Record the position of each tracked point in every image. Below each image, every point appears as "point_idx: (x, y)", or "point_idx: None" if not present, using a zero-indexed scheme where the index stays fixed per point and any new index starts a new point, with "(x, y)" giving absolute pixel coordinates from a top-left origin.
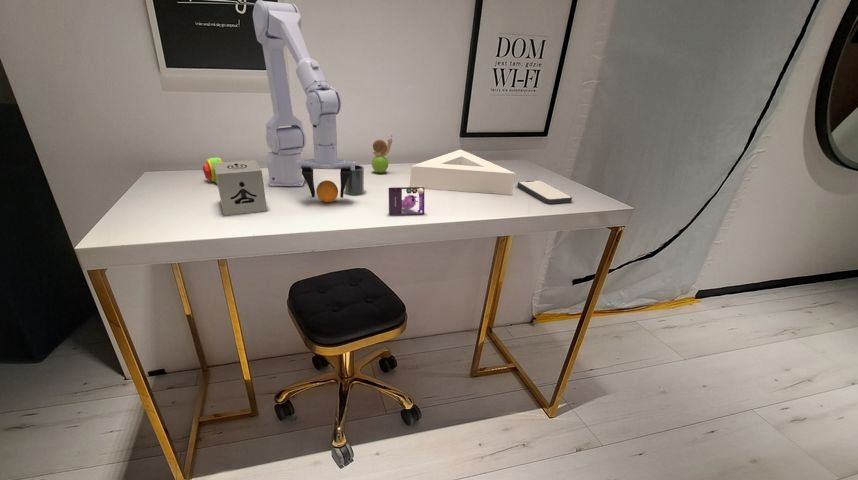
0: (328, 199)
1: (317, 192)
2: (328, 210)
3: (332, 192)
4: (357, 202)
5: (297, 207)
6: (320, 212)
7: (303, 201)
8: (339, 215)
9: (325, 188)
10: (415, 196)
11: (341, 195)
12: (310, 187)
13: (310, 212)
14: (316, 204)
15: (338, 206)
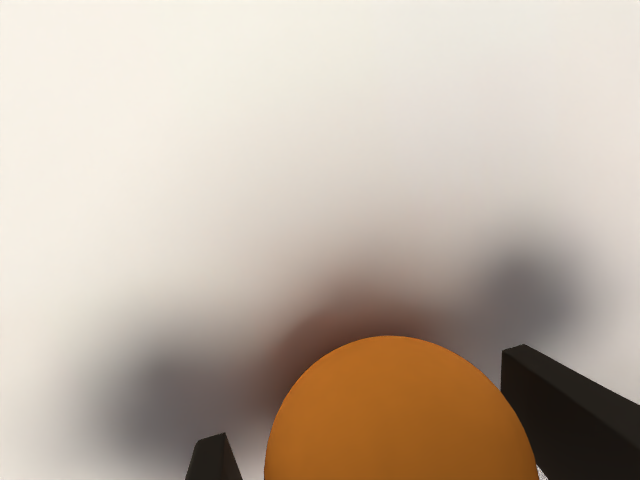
0: (347, 346)
1: (504, 397)
2: (296, 159)
3: (317, 433)
4: (50, 455)
5: (617, 165)
6: (376, 71)
7: (563, 317)
8: (91, 3)
9: (435, 456)
10: None
11: (208, 458)
12: (635, 416)
13: (488, 46)
14: (449, 287)
15: (216, 302)
